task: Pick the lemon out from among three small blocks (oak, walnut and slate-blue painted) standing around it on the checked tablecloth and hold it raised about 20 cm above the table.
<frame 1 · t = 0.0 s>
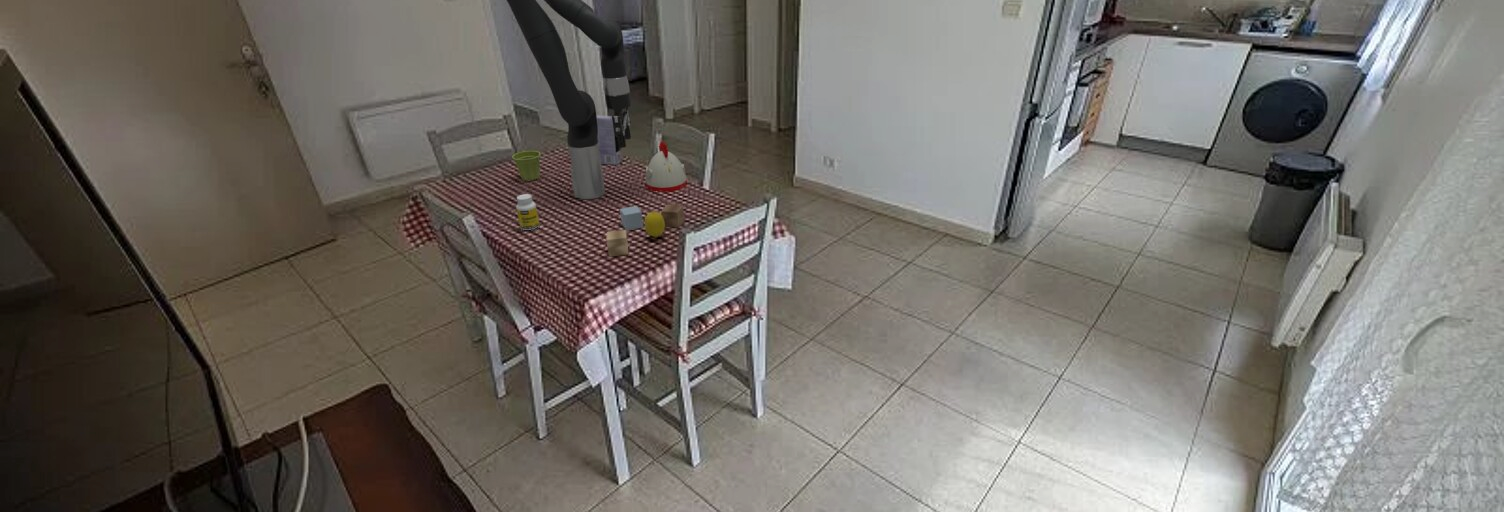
hand: (625, 143, 189), 17 cm above the table, tool pointing down, fingers open, 8 cm apart
block walnut: (673, 223, 176), on the table
kitchen timer: (666, 185, 204), on the table
lemon: (656, 238, 168), on the table
supplement bottle: (530, 228, 175), on the table
block slate: (632, 226, 175), on the table
block oak: (618, 251, 161), on the table
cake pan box: (599, 162, 225), on the table
plant pot: (531, 179, 211), on the table
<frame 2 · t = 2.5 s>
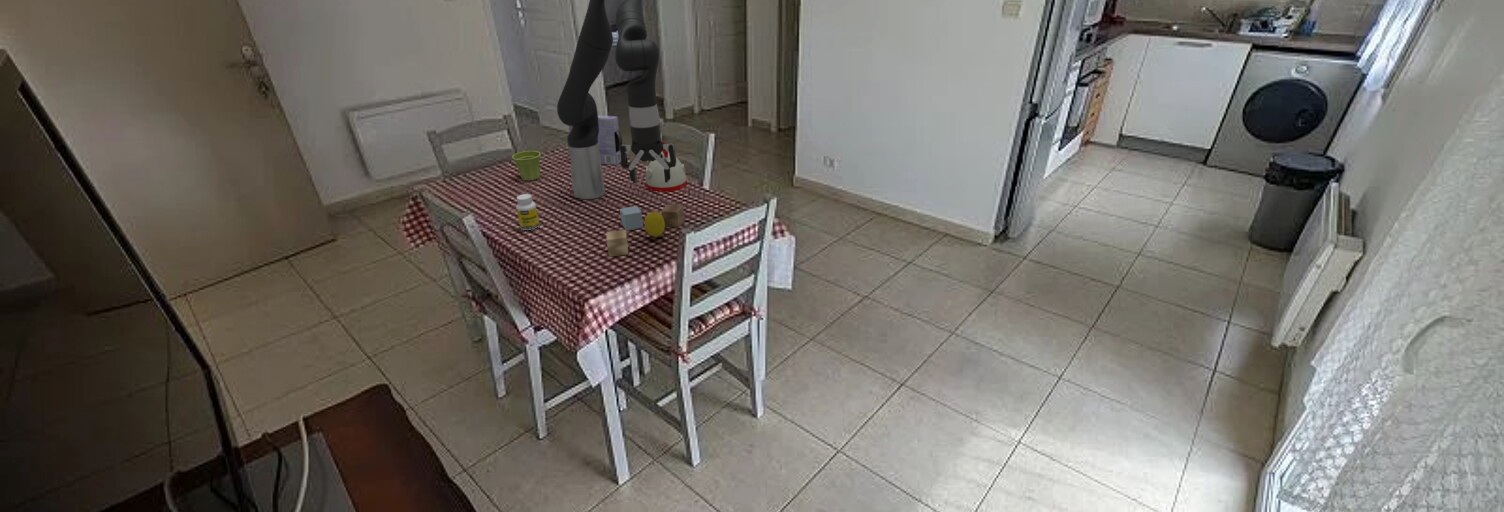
hand: (651, 181, 160), 17 cm above the table, tool pointing down, fingers open, 8 cm apart
nothing on the table moved.
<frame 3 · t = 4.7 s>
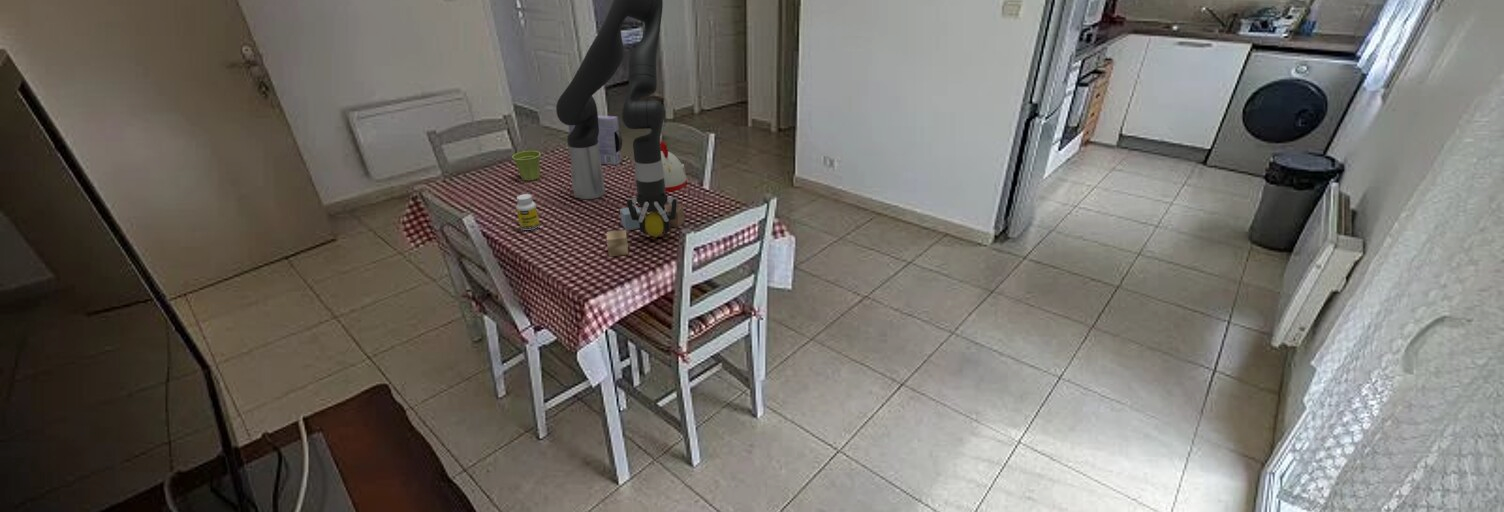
hand: (655, 232, 167), 2 cm above the table, tool pointing down, fingers closed on lemon, 5 cm apart
lemon: (656, 238, 168), on the table, touching gripper
everything else where it was.
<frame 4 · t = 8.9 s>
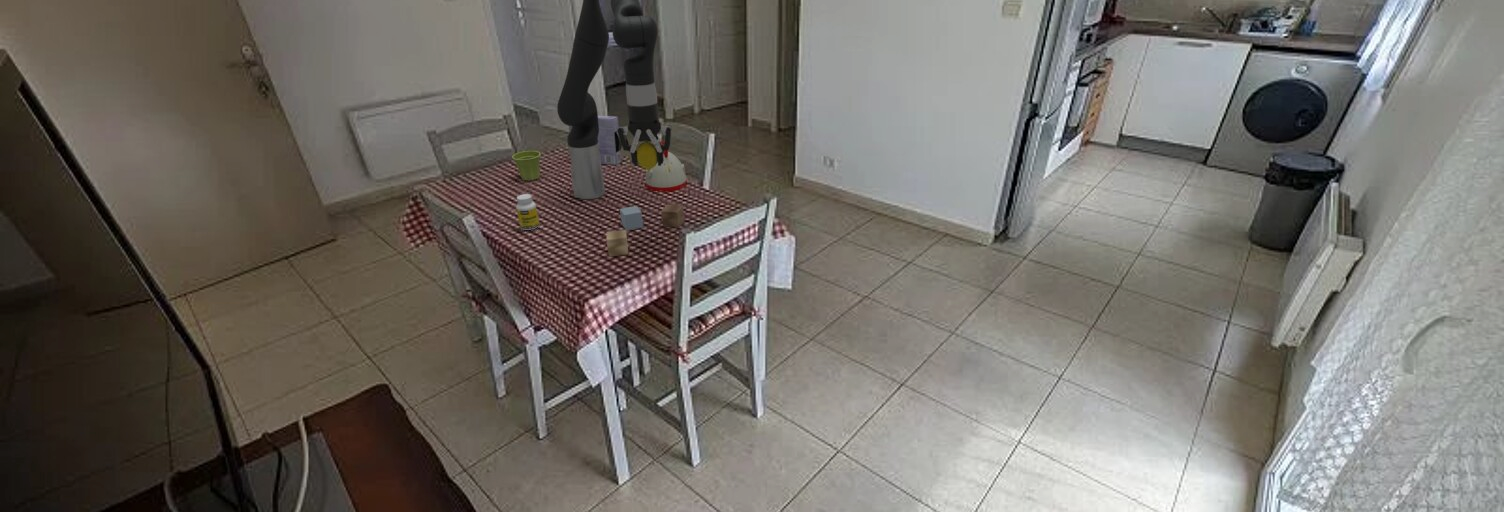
hand: (648, 164, 158), 21 cm above the table, tool pointing down, fingers closed on lemon, 5 cm apart
lemon: (648, 171, 158), point 20 cm above the table, touching gripper
everything else where it was.
at the end: the gripper is holding lemon; lemon point 19.6 cm above the table; block oak moved 0.1 cm from its start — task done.
